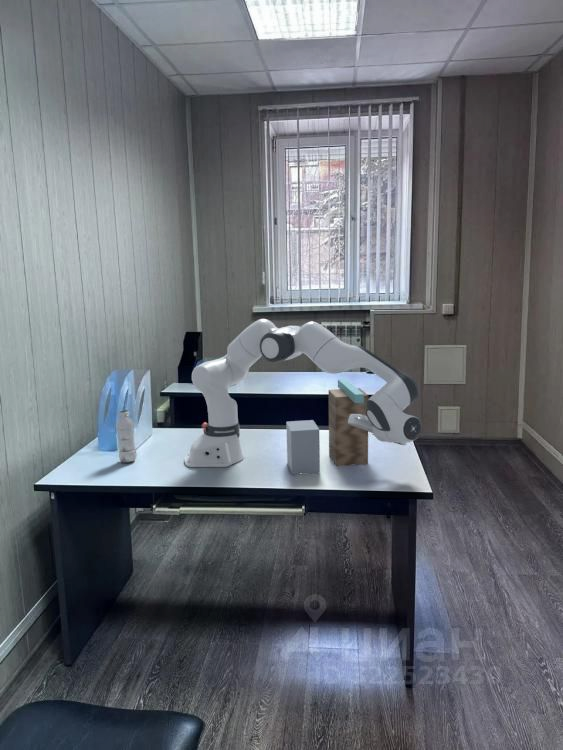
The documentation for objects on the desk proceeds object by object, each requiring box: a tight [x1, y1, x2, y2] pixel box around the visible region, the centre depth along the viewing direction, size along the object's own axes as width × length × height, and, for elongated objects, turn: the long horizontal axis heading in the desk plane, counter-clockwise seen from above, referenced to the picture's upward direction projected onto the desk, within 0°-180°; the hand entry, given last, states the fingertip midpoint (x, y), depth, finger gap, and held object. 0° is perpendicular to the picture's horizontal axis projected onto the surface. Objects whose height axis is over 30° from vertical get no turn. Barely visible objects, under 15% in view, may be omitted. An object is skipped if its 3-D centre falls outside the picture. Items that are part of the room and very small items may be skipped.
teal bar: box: [337, 378, 364, 403], centre depth 197 cm, size 3×26×3 cm, turn 7°
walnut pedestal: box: [328, 387, 369, 467], centre depth 202 cm, size 12×12×26 cm
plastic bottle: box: [115, 409, 138, 464], centre depth 207 cm, size 6×7×20 cm
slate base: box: [285, 419, 321, 475], centre depth 196 cm, size 10×12×16 cm
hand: (366, 427), depth 190 cm, fingers open, 8 cm apart
